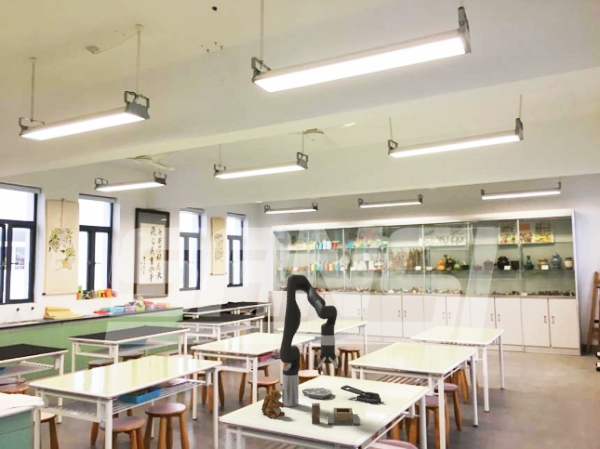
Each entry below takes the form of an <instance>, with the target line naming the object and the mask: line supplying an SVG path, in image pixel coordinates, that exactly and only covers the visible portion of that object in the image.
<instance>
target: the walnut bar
mask: <svg viewBox="0 0 600 449" xmlns="http://www.w3.org/2000/svg"><path fill="white" fill-rule="evenodd" d="M320 416H321V403H320V402H315V403H314V402H312V403H311V424H312V425H320V424H321V417H320Z"/></svg>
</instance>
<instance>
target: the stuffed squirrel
mask: <svg viewBox="0 0 600 449" xmlns="http://www.w3.org/2000/svg"><path fill="white" fill-rule="evenodd" d="M282 397H283V396H282V392H280V391H279V390H278V389H274V390H270V391H269V393H268V394H266V395H265V397H264V399H263V403H262V406H261V409H260V410H261V411H262V412H261V413H262V414H263V415H265V414H267V415H266V416H267V417H268V418H269V417H271V418H270V419H272V418H275V419H276V418H277V417H278V416H284V415H283V414H285V415H286V413H285V411H282V409H281V408H285V406H284V403H282V401H280V399H281V400H282Z"/></svg>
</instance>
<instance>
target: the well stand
mask: <svg viewBox="0 0 600 449" xmlns="http://www.w3.org/2000/svg"><path fill="white" fill-rule="evenodd" d="M326 417H327V425H328V426H361V422H360V417H359V414H358V413H354V412H353V408H352V407H333V413H327V416H326Z"/></svg>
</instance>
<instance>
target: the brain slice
mask: <svg viewBox="0 0 600 449" xmlns="http://www.w3.org/2000/svg"><path fill="white" fill-rule="evenodd" d="M301 392H302V394H303V395H304V397H308V398H311V399H317V400H324V399H328V398H330V397H331V395H332V394H333V391H332V389H330V388H324V387H316V388H314V387H313V388H304V389H302V390H301Z"/></svg>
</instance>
